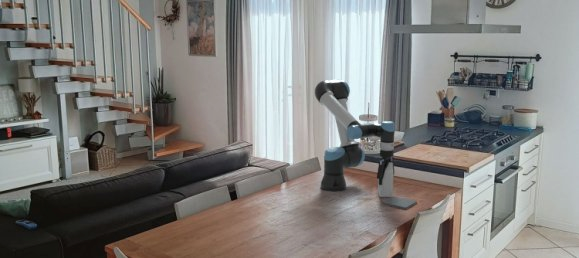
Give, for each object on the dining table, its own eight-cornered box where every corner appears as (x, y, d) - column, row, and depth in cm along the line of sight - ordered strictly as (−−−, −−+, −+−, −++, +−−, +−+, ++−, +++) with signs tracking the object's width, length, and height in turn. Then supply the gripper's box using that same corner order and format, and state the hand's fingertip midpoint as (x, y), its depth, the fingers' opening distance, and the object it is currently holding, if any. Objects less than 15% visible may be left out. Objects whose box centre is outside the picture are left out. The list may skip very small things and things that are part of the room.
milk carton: (392, 197, 291) (393, 164, 288) (379, 197, 291) (380, 164, 288) (390, 193, 298) (391, 161, 295) (377, 193, 298) (378, 161, 295)
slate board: (381, 204, 278) (381, 202, 278) (393, 198, 289) (393, 196, 289) (405, 209, 270) (405, 207, 270) (416, 203, 281) (416, 201, 281)
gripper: (383, 153, 279) (382, 193, 283) (401, 147, 297) (400, 185, 300) (371, 151, 283) (369, 191, 287) (389, 145, 301) (388, 182, 305)
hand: (385, 188), depth 294 cm, fingers closed on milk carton, 10 cm apart
